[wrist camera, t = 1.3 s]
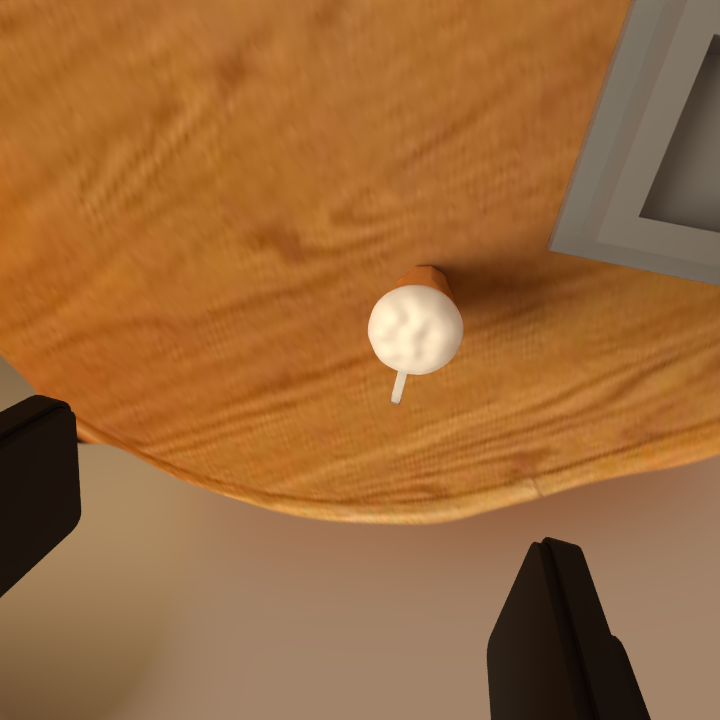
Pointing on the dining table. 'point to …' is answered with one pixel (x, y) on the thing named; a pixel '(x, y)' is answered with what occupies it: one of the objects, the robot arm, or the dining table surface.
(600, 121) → the socket
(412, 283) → the milkshake
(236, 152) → the dining table surface
